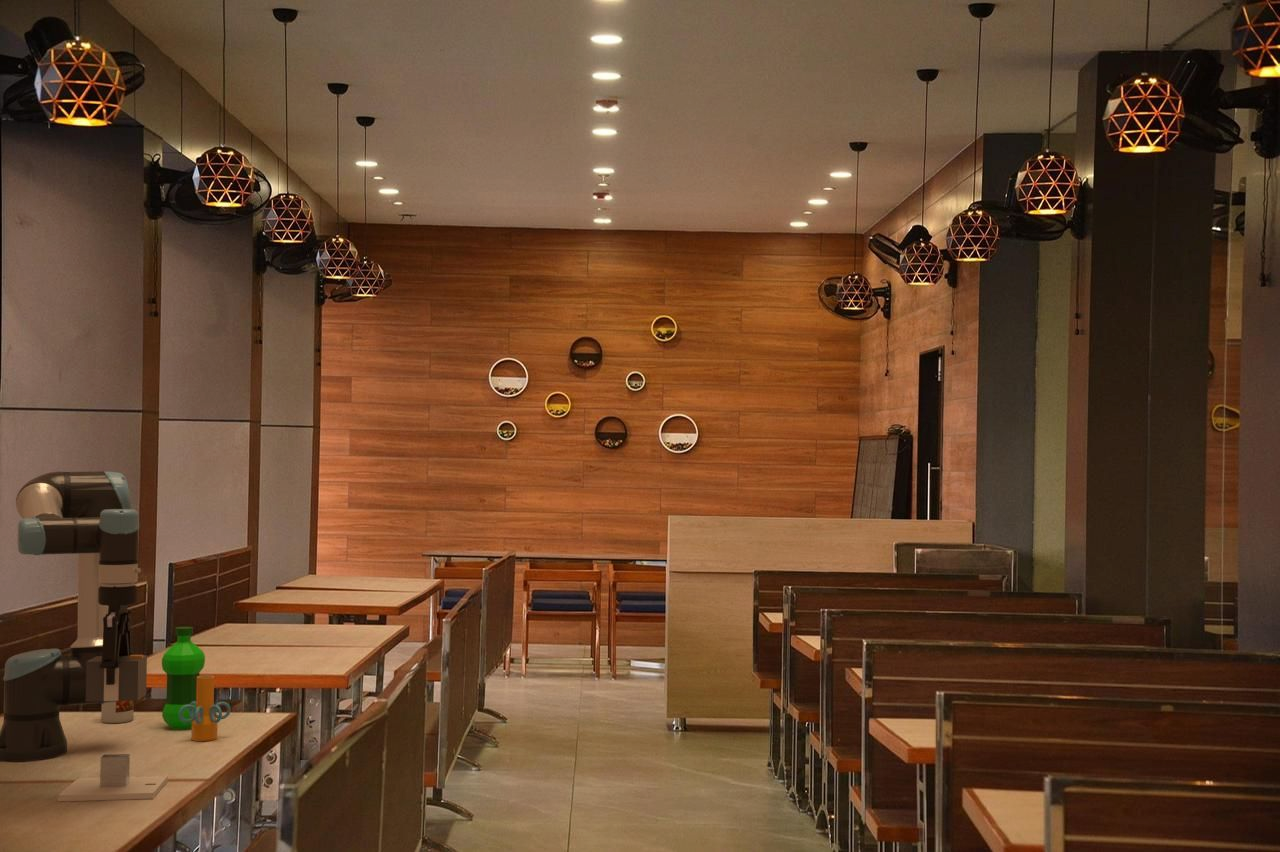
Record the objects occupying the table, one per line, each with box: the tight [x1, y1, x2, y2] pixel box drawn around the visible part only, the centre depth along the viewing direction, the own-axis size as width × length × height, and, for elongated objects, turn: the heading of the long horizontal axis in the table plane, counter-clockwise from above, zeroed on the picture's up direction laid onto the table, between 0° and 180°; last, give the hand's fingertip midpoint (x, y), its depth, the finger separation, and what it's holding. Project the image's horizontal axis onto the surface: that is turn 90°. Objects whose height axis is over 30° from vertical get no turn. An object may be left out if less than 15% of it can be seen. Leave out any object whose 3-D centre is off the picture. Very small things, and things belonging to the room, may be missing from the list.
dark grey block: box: [86, 654, 148, 702], centre depth 273 cm, size 10×8×9 cm
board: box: [57, 753, 169, 802], centre depth 273 cm, size 18×14×7 cm
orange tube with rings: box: [179, 675, 231, 742], centre depth 324 cm, size 12×10×15 cm
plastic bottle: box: [161, 626, 206, 730], centre depth 337 cm, size 10×10×25 cm
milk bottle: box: [100, 701, 135, 724], centre depth 345 cm, size 8×8×20 cm
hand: (116, 696), depth 273 cm, fingers closed on dark grey block, 8 cm apart
